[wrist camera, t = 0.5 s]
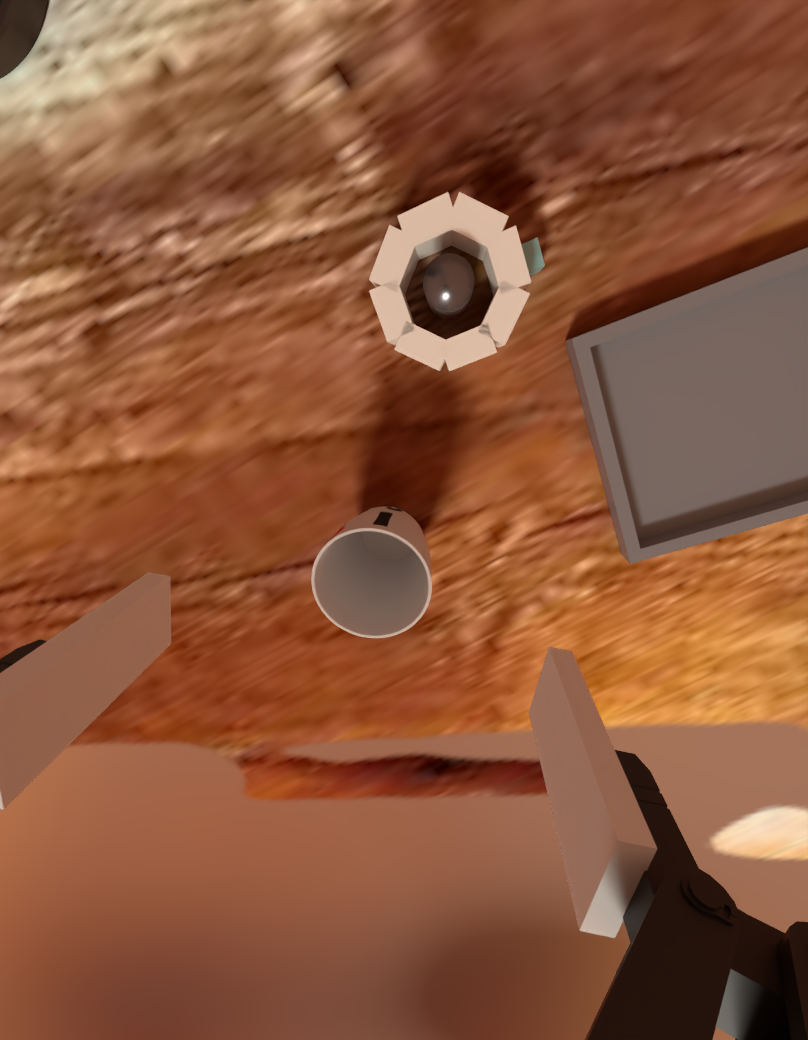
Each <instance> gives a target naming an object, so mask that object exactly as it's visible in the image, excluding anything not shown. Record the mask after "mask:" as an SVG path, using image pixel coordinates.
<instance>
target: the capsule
mask: <svg viewBox="0 0 808 1040" xmlns="http://www.w3.org/2000/svg"><path fill="white" fill-rule="evenodd" d="M474 283H475V278H474V272H473V269H472V267H471V265H470V264H469V262H468V261H467V260H466V259H465V258H463V257H462V256H460V255H458V254H454V253H446V254H442V255H440V256H438V257H436V258H435V259H434V260H432V261H431V263H430V264H429V265H428V267H427V269H426V271H425V273H424V277H423V289H424V293H425V296H426V299H427V302H428V305H429V307H430V309H431V311H432V312H433V313H434V314H435V315H436V316H438V317H440V318H442V319H454V318H456V317H458V316H460V315H461V314H462V313H464V311H465V310H466V309H467V307H468V305H469V302H470V299H471V296H472V292H473V288H474Z"/></svg>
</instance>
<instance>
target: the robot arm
mask: <svg viewBox="0 0 808 1040" xmlns="http://www.w3.org/2000/svg"><path fill="white" fill-rule="evenodd" d="M46 6H47V0H0V78H2V77H4V76H6V75H7V74H8V73H10V72H11V71H12V70H14V69H15V68H16V67H17V66H18V65H19V64H20V63H21V62H22V60H23V59H24V58H25V57H26V55H27V54H28V52H29V51H30V49H31V48H32V46H33V44H34V42H35V40H36V38H37V36H38V33H39V31H40V28H41V25H42V22H43V19H44V15H45V11H46ZM170 644H171V603H170V576H166V575H161V574H156V573H150V572H148V573H147V574H145V575H144V576H142V577H141V578H140V579H138V580H137V581H135V582H134V583H132V584H131V585H129V586H128V587H126V588H125V589H123V590H122V591H120V592H119V593H117V594H116V595H114V596H113V597H112V598H110V599H109V600H107V601H106V602H104V603H103V604H101V605H100V606H98V607H97V608H95V609H94V610H92V611H91V612H89V613H88V614H87V615H85V616H84V617H82V618H81V619H79V620H78V621H76V622H75V623H73V624H72V625H70V626H69V627H67V628H66V629H64V630H63V631H62V632H60V633H59V634H57V635H56V636H54V637H53V638H51V639H50V640H48V641H44V640H37V641H35V642H32V643H30V644H27V645H25V646H22V647H20V648H17V649H15V650H14V651H12V652H11V653H9V654H8V655H6V656H5V657H3V658H2V659H0V809H5V808H6V807H7V806H8V805H9V804H10V803H11V802H12V801H13V800H14V799H15V798H16V797H17V796H18V795H19V794H20V793H21V792H22V791H23V790H24V789H25V788H26V787H27V786H28V785H29V784H30V783H31V782H32V781H33V780H34V779H35V778H36V777H37V776H38V775H39V774H40V773H41V772H42V771H43V770H44V769H45V768H46V767H47V766H48V765H49V764H50V763H51V762H52V761H53V760H54V759H55V758H56V757H57V756H58V755H59V754H60V753H61V752H62V751H63V750H64V749H65V748H66V747H67V746H68V745H69V744H70V743H71V742H72V741H73V740H74V739H75V738H76V737H78V736H79V735H80V734H81V733H82V732H83V731H84V730H85V729H86V728H87V727H88V726H89V725H90V724H91V723H92V722H93V721H94V720H95V719H96V718H97V717H98V716H99V715H100V714H101V713H102V712H103V711H104V710H105V709H106V708H107V707H108V706H109V705H110V704H111V703H112V702H113V701H114V700H115V699H116V698H117V697H118V696H119V695H120V694H121V693H122V692H123V691H124V690H125V689H126V688H127V687H128V686H129V685H130V684H131V683H132V682H133V681H134V680H135V679H136V678H137V677H138V676H139V675H140V674H141V673H142V672H143V671H144V670H145V669H146V668H147V667H148V666H149V665H150V664H151V663H152V662H153V661H154V660H155V659H156V658H157V657H158V656H159V655H160V654H161V653H162V652H163V651H164V650H165V649H166V648H167V647H168V646H169V645H170ZM529 715H530V719H531V724H532V728H533V732H534V736H535V741H536V745H537V749H538V754H539V758H540V762H541V767H542V771H543V775H544V780H545V784H546V788H547V793H548V797H549V801H550V805H551V810H552V814H553V819H554V823H555V827H556V831H557V835H558V840H559V844H560V849H561V853H562V857H563V862H564V866H565V870H566V875H567V879H568V883H569V887H570V892H571V896H572V901H573V905H574V909H575V913H576V918H577V922H578V926H579V930H580V931H584V932H589V933H593V934H598V935H603V936H607V937H613V938H615V937H616V934H617V933H618V930H619V928H620V926H621V924H622V922H623V920H624V923H625V926H626V929H627V932H628V936H629V939H630V942H631V943H630V945H629V947H628V949H627V951H626V954H625V956H624V957H623V960H622V962H621V963H620V966H619V968H618V970H617V972H616V975H615V977H614V979H613V982H612V983H611V985H610V988H609V990H608V992H607V994H606V996H605V998H604V1000H603V1002H602V1005H601V1007H600V1009H599V1011H598V1013H597V1015H596V1017H595V1019H594V1021H593V1024H592V1026H591V1028H590V1030H589V1032H588V1034H587V1036H586V1039H585V1040H712V1039H713V1035H714V1031H715V1027H717V1028H719V1029H721V1030H722V1031H724V1032H726V1033H727V1034H729V1035H731V1036H732V1037H734V1038H735V1040H808V922H795V923H794V924H793V925H791V926H790V927H789V929H788V930H787V932H786V933H783V932H781V931H779V930H777V929H775V928H773V927H771V926H769V925H767V924H765V923H763V922H761V921H759V920H757V919H755V918H753V917H751V916H749V915H747V914H746V913H744V912H742V911H741V910H739V909H737V907H736V904H735V902H734V901H733V900H732V898H731V897H730V896H729V894H728V893H727V891H726V890H725V889H724V888H723V887H722V886H721V885H720V884H719V883H718V882H717V881H716V880H714V879H713V878H712V877H711V876H710V875H708V874H707V873H705V872H703V871H702V870H700V869H699V868H698V866H697V864H696V862H695V860H694V858H693V856H692V854H691V852H690V850H689V848H688V846H687V844H686V842H685V840H684V838H683V836H682V834H681V832H680V830H679V828H678V826H677V824H676V822H675V820H674V818H673V816H672V814H671V812H670V810H669V809H667V804H666V802H665V800H664V798H663V796H662V794H661V793H660V792H659V791H660V790H659V788H658V786H657V784H656V782H655V780H654V778H653V776H652V774H651V772H650V770H649V769H648V768H647V767H646V766H645V765H644V764H643V763H642V762H641V760H640V759H639V758H638V757H637V756H636V755H635V754H632V753H627V752H622V751H617V750H614V747H613V745H612V743H611V741H610V738H609V736H608V734H607V731H606V729H605V727H604V724H603V722H602V720H601V717H600V715H599V713H598V710H597V708H596V706H595V703H594V701H593V699H592V697H591V694H590V692H589V690H588V687H587V685H586V683H585V680H584V678H583V676H582V674H581V671H580V669H579V667H578V664H577V662H576V660H575V657H574V655H573V653H572V651H569V650H563V649H558V648H552V647H549V648H548V651H547V655H546V658H545V661H544V665H543V668H542V671H541V675H540V678H539V681H538V684H537V688H536V691H535V694H534V698H533V701H532V704H531V707H530V711H529Z"/></svg>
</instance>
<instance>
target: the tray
mask: <svg viewBox="0 0 808 1040" xmlns="http://www.w3.org/2000/svg"><path fill="white" fill-rule="evenodd" d="M565 341H566V345H567V349H568V353H569V357H570V360H571V364H572V368H573V372H574V376H575V379H576V383H577V387H578V391H579V395H580V398H581V402H582V406H583V410H584V414H585V417H586V421H587V425H588V429H589V433H590V436H591V440H592V444H593V448H594V452H595V455H596V459H597V463H598V467H599V471H600V474H601V478H602V482H603V486H604V490H605V493H606V497H607V501H608V505H609V509H610V512H611V516H612V520H613V524H614V528H615V532H616V535H617V539H618V543H619V547H620V551H621V554H622V555H623V556H624V557H625V559H626V560H627V561H628V562H629V563H630V564H631V563H635V562H638V561H642V560H645V559H649V558H652V557H656V556H659V555H663V554H666V553H670V552H673V551H677V550H680V549H684V548H687V547H691V546H694V545H698V544H701V543H705V542H708V541H712V540H715V539H719V538H722V537H726V536H729V535H733V534H737V533H740V532H744V531H747V530H751V529H754V528H758V527H761V526H765V525H768V524H772V523H775V522H779V521H782V520H786V519H789V518H793V517H796V516H800V515H803V514H807V513H808V247H805V248H803V249H800V250H797V251H795V252H792V253H790V254H787V255H784V256H782V257H779V258H777V259H774V260H772V261H769V262H766V263H764V264H761V265H759V266H756V267H754V268H751V269H748V270H746V271H743V272H741V273H738V274H735V275H733V276H730V277H728V278H725V279H723V280H720V281H717V282H715V283H712V284H710V285H707V286H704V287H702V288H699V289H697V290H694V291H692V292H689V293H686V294H684V295H681V296H679V297H676V298H674V299H671V300H668V301H666V302H663V303H661V304H658V305H655V306H653V307H650V308H648V309H645V310H643V311H640V312H637V313H635V314H632V315H630V316H627V317H624V318H622V319H619V320H617V321H614V322H612V323H609V324H606V325H604V326H601V327H599V328H596V329H594V330H591V331H588V332H586V333H583V334H581V335H578V336H575V337H573V338H570V339H568V340H565Z"/></svg>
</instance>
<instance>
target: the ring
mask: <svg viewBox="0 0 808 1040" xmlns="http://www.w3.org/2000/svg"><path fill="white" fill-rule="evenodd" d="M397 217H398V220H399V223H400V226H401V229H402V231H401V230H399V229H397V228H395V227H393V226H391V225H389V227H388V230H387V233H386V235H385V238H384V241H383V243H382V246H381V249H380V251H379V254H378V257H377V259H376V262H375V265H374V267H373V270H372V273H371V275H370V278H369V280H370V281H371V282H372V283H373V284H374V286H375V287H376V288H374V289H372V290H370V291H369V292H370V295H371V298H372V301H373V303H374V306H375V309H376V312H377V314H378V317H379V320H380V323H381V325H382V328H383V331H384V334H385V336H386V339H387V342H389V343H391V344H393V345H395V344H397V345H396V347H395V349H394V350H396V351H398V352H400V353H402V354H405V355H407V356H409V357H411V358H413V359H415V360H417V361H419V362H421V363H423V364H426V365H428V366H430V367H432V368H434V369H436V370H438V371H441V368H442V366H443V364H444V362H445V360H446V363H447V366H448V369H449V371H451V370H454V369H456V368H459V367H461V366H464V365H466V364H469V363H471V362H474V361H477V360H479V359H482V358H484V357H487V356H489V355H492V354H494V353H497V351H496V348H495V346H496V347H502V346H504V345H505V344H506V342H507V340H508V338H509V336H510V334H511V332H512V330H513V327H514V325H515V323H516V321H517V319H518V317H519V315H520V313H521V311H522V309H523V307H524V305H525V303H526V301H527V299H528V297H529V295H530V293H528V292H526V291H524V289H525V288H526V287H527V286H528V285H529V284H530V283H531V279H530V275H533V274H535V273H538V272H540V271H541V269H542V268H543V267H544V266H545V264H544V260H543V256H542V253H541V249H540V245H539V241H538V237H537V238H535V239H533V240H530V241H528V242H526V243H523V244H521V242H520V238H519V235H518V231H517V227H516V226H513V227H511V228H509V229H507V230H504V228H505V225H506V222H507V220H508V217H509V216H507V215H505V214H503V213H501V212H499V211H497V210H495V209H493V208H491V207H489V206H487V205H485V204H483V203H481V202H479V201H477V200H475V199H473V198H471V197H469V196H467V195H465V194H463V193H461V192H459V194H458V196H457V199H456V201H455V203H454V206H452V203H451V199H450V196H449V193H448V192H447V193H445V194H442V195H440V196H438V197H436V198H434V199H432V200H430V201H428V202H426V203H423V204H421V205H419V206H417V207H415V208H413V209H411V210H409V211H407V212H404V213H402V214H400V215H398V216H397ZM503 230H504V231H503ZM450 246H453V247H455V248H457V249H459V250H461V251H463V252H465V253H468V254H470V255H472V256H474V257H476V258H478V259H480V260H482V261H483V263H484V267H485V270H486V273H487V277H488V280H489V283H490V287H491V290H492V294H493V298H492V301H491V303H490V305H489V307H488V309H487V311H486V314H485V316H484V318H483V320H482V322H481V324H480V326H478V327H476V328H473V329H471V330H468V331H466V332H463V333H461V334H459V335H456V336H454V337H451V338H449V339H446V340H445V339H443V338H441V337H439V336H437V335H435V334H433V333H431V332H429V331H427V330H425V329H423V328H420V327H418V326H416V325H415V323H414V320H413V317H412V314H411V311H410V308H409V305H408V302H407V300H406V297H405V294H406V291H407V289H408V286H409V284H410V281H411V279H412V276H413V274H414V271H415V269H416V266H417V264H418V261H419V260H421V259H423V258H425V257H427V256H430V255H432V254H434V253H436V252H439V251H441V250H443V249H445V248H447V247H450Z"/></svg>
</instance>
